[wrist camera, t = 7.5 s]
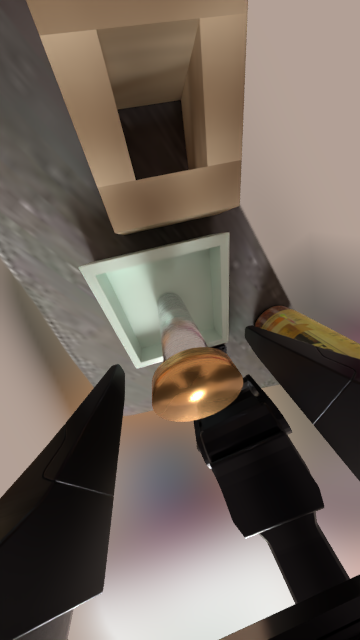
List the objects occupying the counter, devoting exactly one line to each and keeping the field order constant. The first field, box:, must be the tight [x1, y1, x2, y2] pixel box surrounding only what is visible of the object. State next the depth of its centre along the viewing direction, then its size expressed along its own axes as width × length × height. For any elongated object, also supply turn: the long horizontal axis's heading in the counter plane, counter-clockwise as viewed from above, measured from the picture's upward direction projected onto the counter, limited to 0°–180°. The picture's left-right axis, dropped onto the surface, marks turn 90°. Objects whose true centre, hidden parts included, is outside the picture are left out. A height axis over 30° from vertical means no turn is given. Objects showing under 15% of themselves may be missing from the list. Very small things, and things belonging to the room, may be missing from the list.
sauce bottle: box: [255, 305, 360, 359], centre depth 13 cm, size 7×6×20 cm
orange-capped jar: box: [152, 292, 243, 422], centre depth 11 cm, size 4×4×11 cm
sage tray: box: [79, 232, 229, 369], centre depth 15 cm, size 12×12×4 cm
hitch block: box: [26, 0, 248, 235], centre depth 9 cm, size 9×9×4 cm
